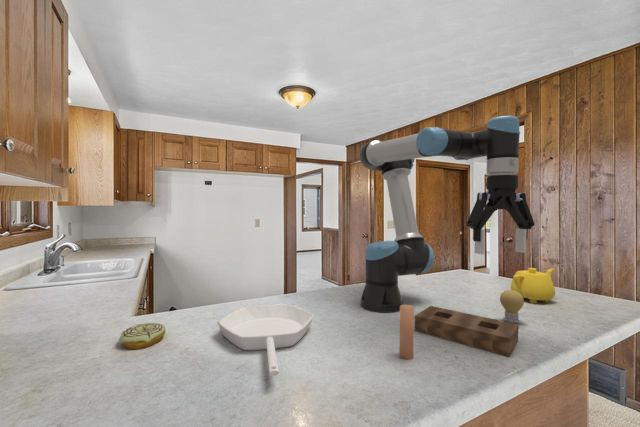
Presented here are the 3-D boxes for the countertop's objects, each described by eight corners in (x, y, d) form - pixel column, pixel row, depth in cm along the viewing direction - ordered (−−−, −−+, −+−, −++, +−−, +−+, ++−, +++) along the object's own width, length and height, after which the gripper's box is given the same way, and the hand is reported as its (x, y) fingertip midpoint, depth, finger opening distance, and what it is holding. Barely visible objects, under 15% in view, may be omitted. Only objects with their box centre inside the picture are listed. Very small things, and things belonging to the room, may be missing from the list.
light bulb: (527, 326, 93) (527, 293, 93) (504, 324, 95) (504, 292, 94) (518, 319, 100) (518, 288, 99) (496, 317, 101) (497, 287, 101)
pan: (307, 315, 104) (307, 302, 103) (341, 382, 63) (341, 361, 63) (221, 321, 98) (221, 307, 98) (200, 400, 57) (200, 376, 57)
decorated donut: (110, 351, 77) (110, 336, 77) (133, 334, 88) (133, 321, 88) (153, 350, 78) (153, 335, 78) (171, 333, 88) (171, 320, 88)
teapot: (570, 302, 118) (570, 270, 117) (529, 306, 112) (529, 273, 112) (536, 293, 130) (537, 264, 130) (499, 296, 125) (499, 266, 125)
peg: (397, 356, 74) (397, 307, 74) (403, 351, 77) (403, 303, 77) (409, 360, 72) (410, 309, 72) (415, 355, 75) (415, 306, 74)
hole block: (414, 330, 90) (414, 315, 90) (430, 319, 99) (430, 305, 99) (509, 357, 74) (510, 338, 74) (518, 340, 83) (518, 324, 83)
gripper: (473, 172, 77) (471, 256, 77) (551, 175, 83) (549, 253, 83) (453, 175, 84) (451, 252, 85) (526, 177, 90) (525, 249, 91)
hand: (500, 253), depth 84 cm, fingers open, 13 cm apart
